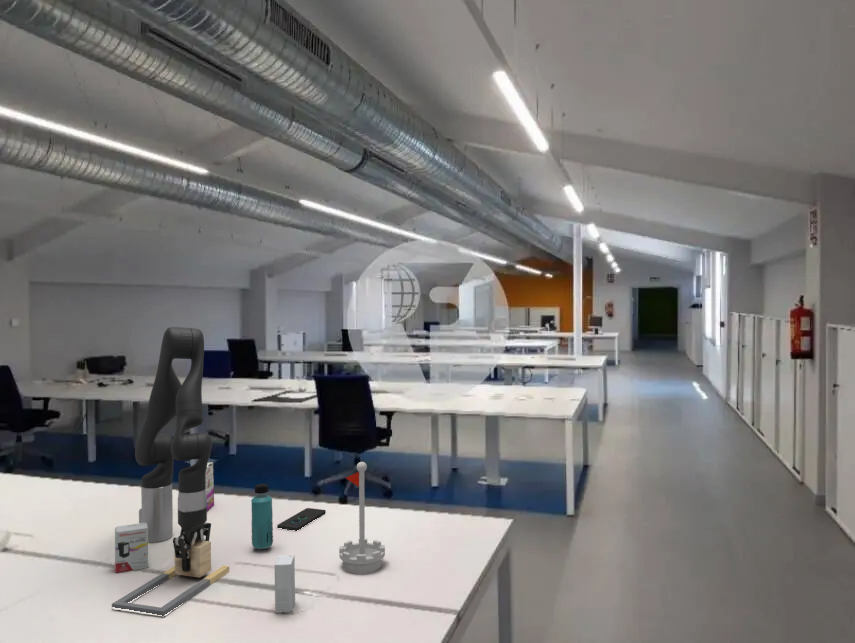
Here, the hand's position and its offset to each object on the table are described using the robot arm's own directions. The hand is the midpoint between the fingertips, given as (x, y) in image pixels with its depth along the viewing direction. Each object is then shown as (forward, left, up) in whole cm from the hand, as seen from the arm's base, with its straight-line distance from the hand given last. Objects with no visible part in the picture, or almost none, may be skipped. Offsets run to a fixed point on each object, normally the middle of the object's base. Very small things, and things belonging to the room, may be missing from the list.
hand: (192, 566), depth 175 cm
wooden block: (0, 0, -1) cm, 1 cm away
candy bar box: (-33, +51, -3) cm, 60 cm away
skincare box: (+33, -9, -3) cm, 35 cm away
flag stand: (+42, +20, -3) cm, 47 cm away
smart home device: (+8, +50, -3) cm, 51 cm away
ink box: (-21, +1, -3) cm, 21 cm away
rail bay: (0, -7, -3) cm, 8 cm away
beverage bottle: (+8, +23, -3) cm, 24 cm away
